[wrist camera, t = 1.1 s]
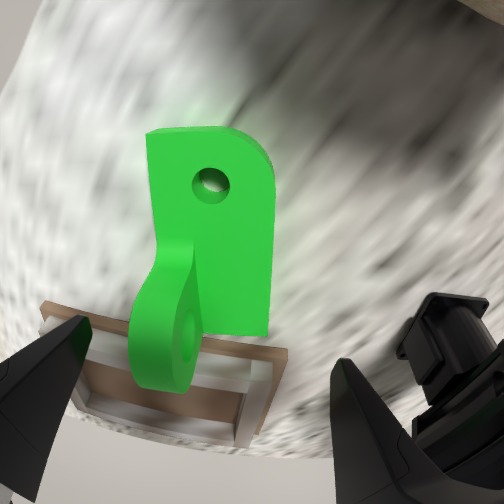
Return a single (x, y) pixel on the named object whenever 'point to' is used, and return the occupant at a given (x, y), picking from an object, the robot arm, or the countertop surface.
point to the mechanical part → (202, 251)
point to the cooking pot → (488, 8)
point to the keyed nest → (175, 404)
